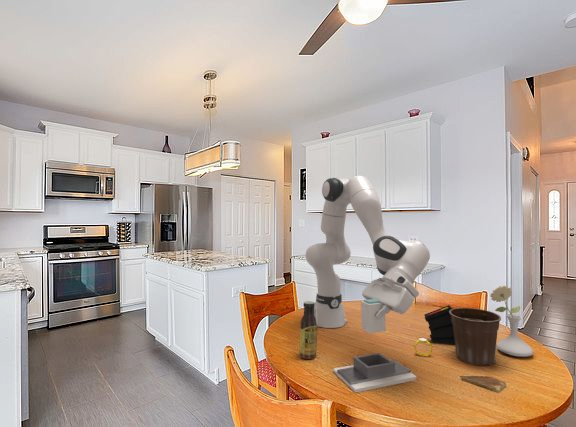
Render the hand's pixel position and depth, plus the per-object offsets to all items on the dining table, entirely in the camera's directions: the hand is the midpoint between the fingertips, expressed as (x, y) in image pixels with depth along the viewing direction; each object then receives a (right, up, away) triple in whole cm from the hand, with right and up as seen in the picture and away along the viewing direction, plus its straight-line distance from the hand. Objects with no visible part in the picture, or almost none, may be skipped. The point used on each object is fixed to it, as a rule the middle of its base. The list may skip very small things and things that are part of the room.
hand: (371, 315), depth 106 cm
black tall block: (+36, -20, +27) cm, 49 cm away
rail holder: (+1, -20, 0) cm, 20 cm away
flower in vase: (+56, -19, +16) cm, 62 cm away
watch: (+23, -20, +15) cm, 34 cm away
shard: (+33, -20, -7) cm, 39 cm away
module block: (+1, -5, 0) cm, 5 cm away
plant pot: (+40, -20, +12) cm, 46 cm away
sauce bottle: (-19, -20, +15) cm, 32 cm away
